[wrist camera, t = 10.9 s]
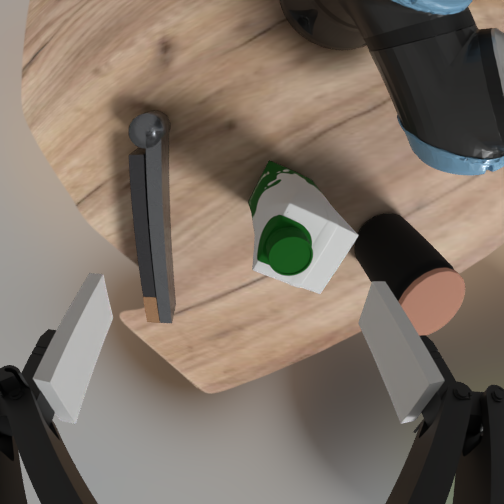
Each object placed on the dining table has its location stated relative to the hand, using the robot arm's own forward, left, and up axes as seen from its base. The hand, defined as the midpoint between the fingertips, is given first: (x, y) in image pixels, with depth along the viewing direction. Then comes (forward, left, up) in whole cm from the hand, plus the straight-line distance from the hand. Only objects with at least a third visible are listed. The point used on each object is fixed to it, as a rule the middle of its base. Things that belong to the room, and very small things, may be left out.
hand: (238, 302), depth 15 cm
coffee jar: (+12, +25, -32) cm, 42 cm away
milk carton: (+5, +7, -32) cm, 33 cm away
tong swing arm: (+13, -12, -31) cm, 36 cm away
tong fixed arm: (+10, -11, -32) cm, 35 cm away
